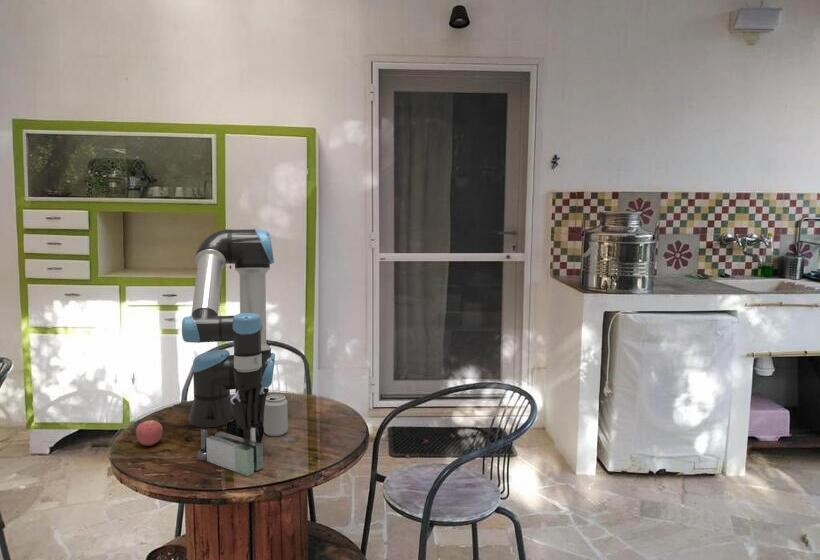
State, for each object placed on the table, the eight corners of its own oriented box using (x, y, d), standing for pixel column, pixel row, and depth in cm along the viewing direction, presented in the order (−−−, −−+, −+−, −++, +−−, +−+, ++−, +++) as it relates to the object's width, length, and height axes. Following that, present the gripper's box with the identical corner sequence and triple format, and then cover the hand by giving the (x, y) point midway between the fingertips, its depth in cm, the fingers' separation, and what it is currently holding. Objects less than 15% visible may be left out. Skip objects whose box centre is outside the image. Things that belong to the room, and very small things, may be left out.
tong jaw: (215, 456, 178) (214, 433, 177) (221, 454, 180) (220, 431, 179) (256, 470, 169) (256, 446, 168) (262, 468, 171) (262, 443, 170)
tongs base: (194, 458, 177) (193, 430, 176) (206, 454, 180) (205, 426, 179) (244, 477, 165) (244, 447, 164) (256, 472, 169) (255, 442, 168)
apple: (150, 438, 192) (150, 413, 191) (168, 442, 189) (167, 417, 188) (130, 446, 185) (129, 420, 185) (148, 450, 182) (147, 424, 181)
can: (262, 430, 200) (261, 394, 198) (285, 427, 203) (284, 392, 201) (266, 438, 193) (265, 401, 192) (290, 435, 196) (289, 398, 195)
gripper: (239, 375, 165) (242, 460, 168) (274, 365, 176) (276, 445, 179) (220, 371, 169) (223, 454, 172) (256, 362, 180) (258, 439, 183)
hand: (250, 449), depth 175 cm, fingers closed
